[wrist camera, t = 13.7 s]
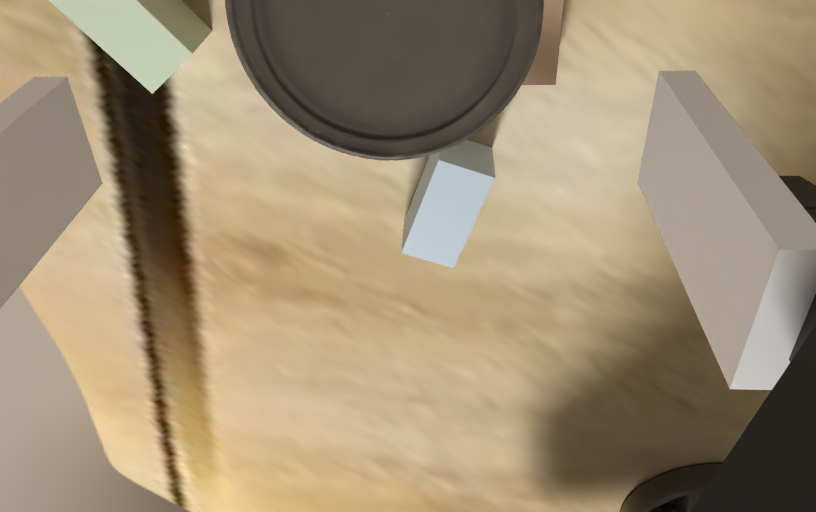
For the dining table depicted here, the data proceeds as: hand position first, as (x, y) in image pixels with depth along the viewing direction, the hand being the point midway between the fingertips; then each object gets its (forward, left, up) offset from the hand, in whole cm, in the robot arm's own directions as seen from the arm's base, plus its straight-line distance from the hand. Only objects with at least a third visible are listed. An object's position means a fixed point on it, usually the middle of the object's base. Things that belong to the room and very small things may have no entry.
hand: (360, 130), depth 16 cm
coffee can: (0, 0, -22) cm, 22 cm away
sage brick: (-4, +15, -25) cm, 29 cm away
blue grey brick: (-16, -2, -25) cm, 30 cm away
